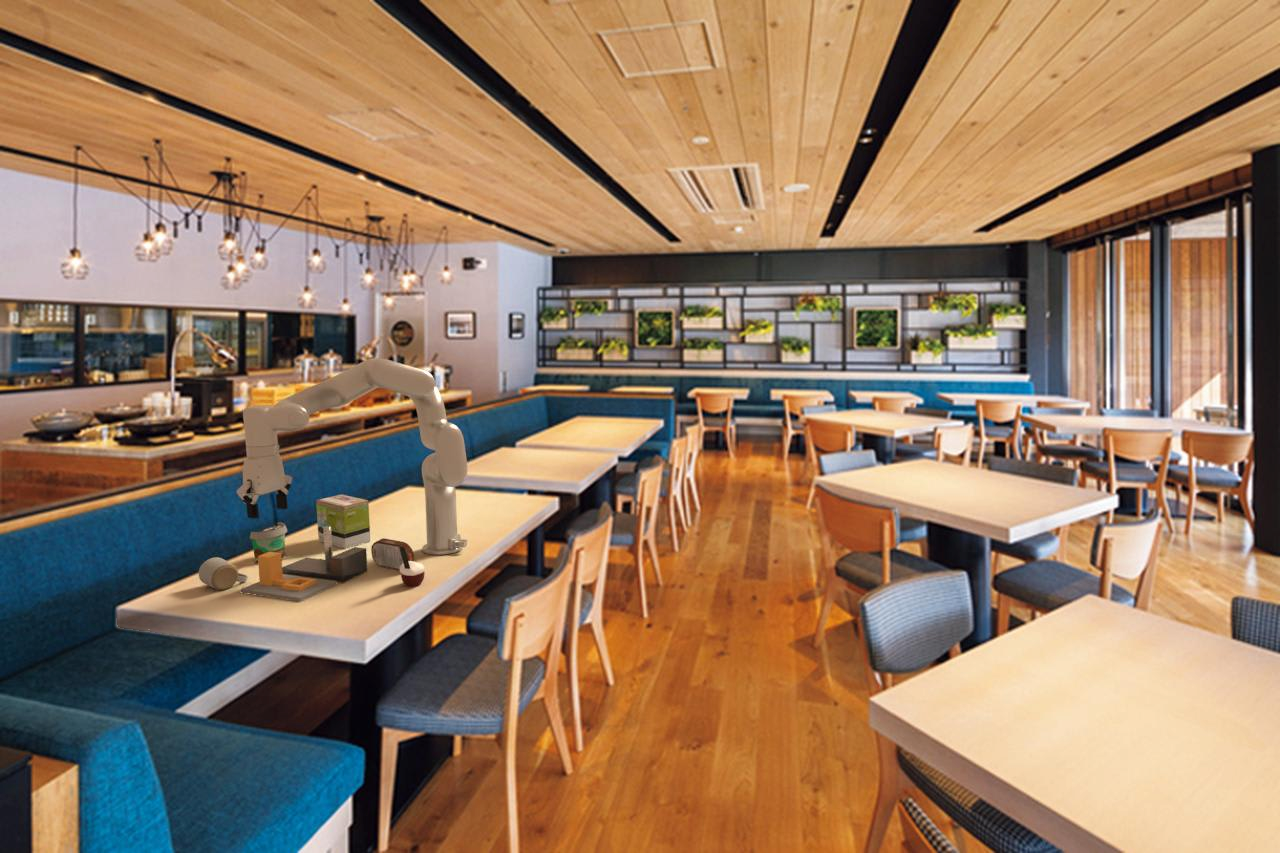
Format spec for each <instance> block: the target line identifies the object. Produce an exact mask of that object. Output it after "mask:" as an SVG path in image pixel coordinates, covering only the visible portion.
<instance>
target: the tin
mask: <svg viewBox="0 0 1280 853" xmlns="http://www.w3.org/2000/svg"><path fill="white" fill-rule="evenodd" d="M370 547H371V558H372V561H373V562H374V563H375V564H376V565H377V566H379V567H381V568H385V567H386V568H387V569H391V570H396V571H400V566H401V565H402V564H403V560H402V556H401V553H400V549H399V547H404V548H405V550H406V554H407V558H408V561H414V562H415V552H414V550H413V548H412V547H411V546H410V545H409V544H408V543H407V542H405V541H400V540H395V539H389V538H380V539H379V540H376V541H375V542H373V543H372V545H371V546H370Z"/></svg>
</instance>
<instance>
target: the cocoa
mask: <svg viewBox="0 0 1280 853" xmlns="http://www.w3.org/2000/svg"><path fill="white" fill-rule="evenodd" d="M399 549H400V553H401V556H402V560H403V564H402V565H401V566H400V570H399V572H400V578H401V580H402V583H403V584H404V585H405V586H406V587H417V586H420V585H421V584H422V582H423V581H424V578H425V569H426V568H425V566H424V565H423V564H422V563H420V562H416V561H415V560H414V561H408V558H407V554H406V550H405V548H404V547H399Z"/></svg>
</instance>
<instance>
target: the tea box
mask: <svg viewBox="0 0 1280 853" xmlns="http://www.w3.org/2000/svg"><path fill="white" fill-rule="evenodd" d="M315 506H316V519H317V534H318V541H319V542H321V543H324V530H323V527H325V526H331V536H332V546H334V547H338V548H341V549H343V550H346V548H347V549H351V548H354V547H357V546H360V545H359V544H361V545H363V544H362V543H364V544H366V542H367V543H370V542H371V525H370V509H369V506H370V504H369V500H367V499H363V498H359V497H354V496H349V495H347V494H341V493H340V494H337V495H333V496H329V497H325V498H320V499H316V500H315ZM369 541H370V542H369ZM356 545H357V546H356ZM353 546H354V547H353ZM350 547H351V548H350Z"/></svg>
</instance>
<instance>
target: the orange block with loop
mask: <svg viewBox="0 0 1280 853" xmlns="http://www.w3.org/2000/svg"><path fill="white" fill-rule="evenodd" d="M282 559H283V558H281V553H276V552H268V553H265V554H262V555H259V556H258V563H257V564H258V576H259V578H258V579H259V581H260V584H261V585H269V586H272V585H279V586H282V589H286V590H294V591H302V590H304V589H306V588H308V587H311V586H313V585H315V584H317V581H316V579H309V578H301V577H298V578H296V579H287V578H283V572H282V567H283V562H282V561H283V560H282ZM299 583H301V585H297V584H299Z"/></svg>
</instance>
